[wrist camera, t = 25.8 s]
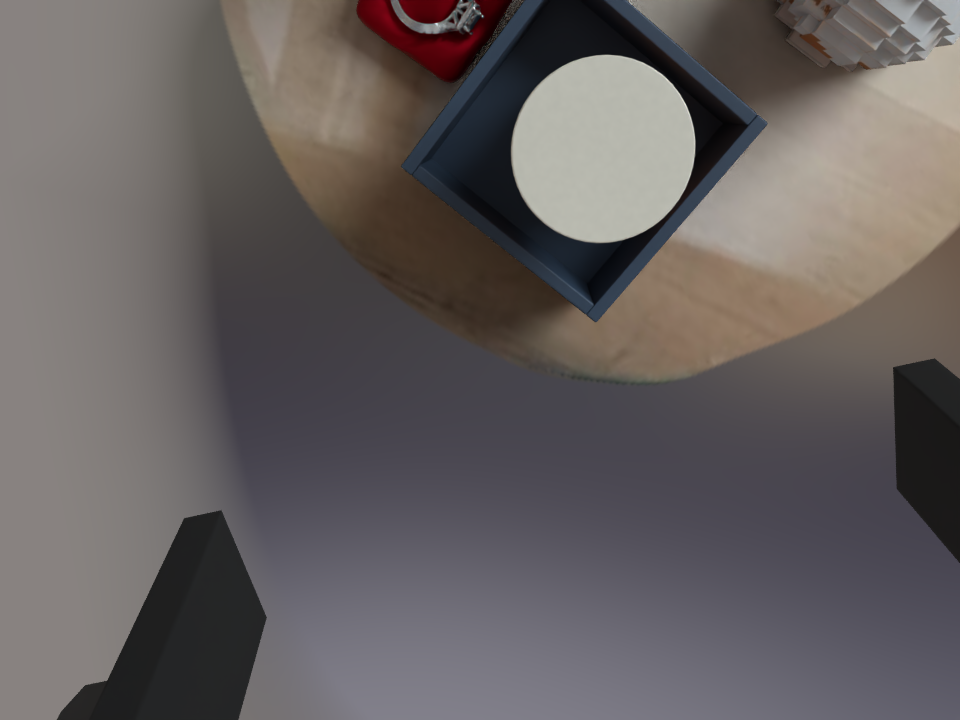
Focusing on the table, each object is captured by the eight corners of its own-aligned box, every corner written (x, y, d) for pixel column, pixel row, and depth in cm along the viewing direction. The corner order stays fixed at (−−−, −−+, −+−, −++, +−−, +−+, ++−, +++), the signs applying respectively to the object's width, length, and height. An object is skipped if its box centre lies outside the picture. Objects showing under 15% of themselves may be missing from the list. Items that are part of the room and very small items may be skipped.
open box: (416, 159, 44) (400, 166, 38) (559, -33, 41) (564, -54, 35) (587, 297, 45) (596, 323, 40) (737, 121, 42) (768, 123, 37)
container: (487, 151, 43) (473, 167, 32) (575, 37, 41) (591, 13, 31) (592, 237, 44) (612, 279, 33) (682, 128, 42) (734, 135, 31)
